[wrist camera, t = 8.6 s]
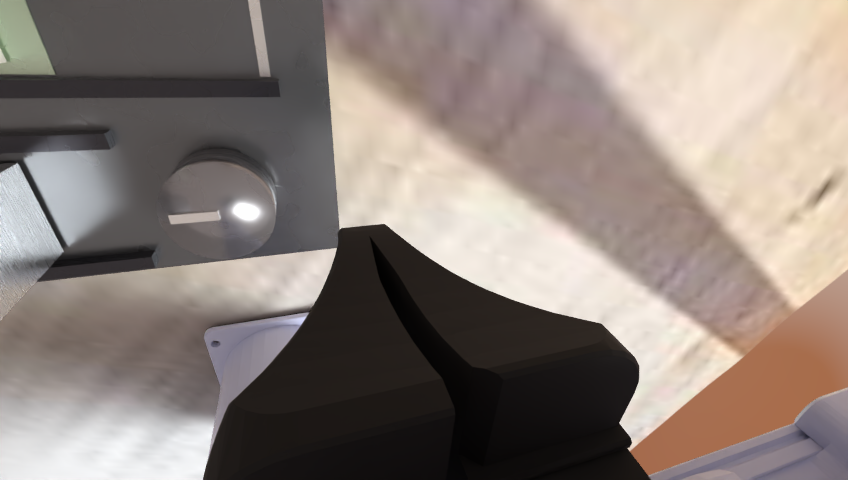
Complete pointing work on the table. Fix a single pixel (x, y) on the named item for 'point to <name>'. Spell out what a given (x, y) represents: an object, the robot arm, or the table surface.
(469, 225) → the table surface
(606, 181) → the table surface
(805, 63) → the table surface
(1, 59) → the fader
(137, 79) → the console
